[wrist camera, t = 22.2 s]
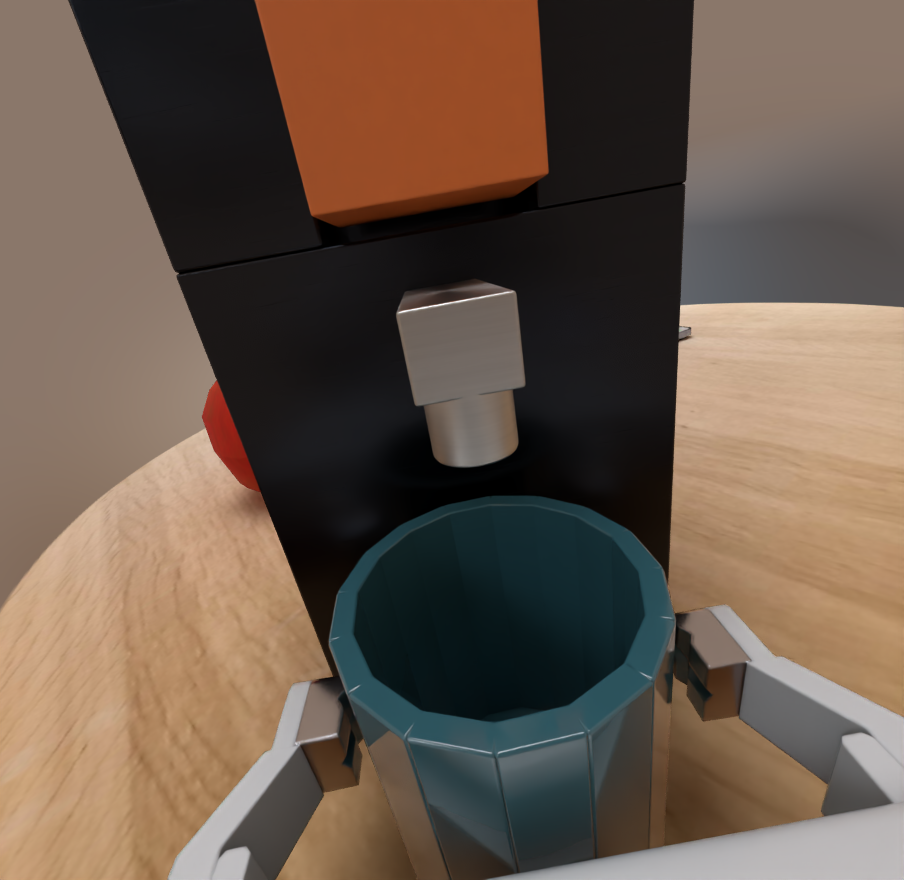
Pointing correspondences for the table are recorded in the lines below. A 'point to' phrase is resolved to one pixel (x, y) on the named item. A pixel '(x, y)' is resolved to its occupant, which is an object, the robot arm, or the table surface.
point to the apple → (227, 438)
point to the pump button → (408, 102)
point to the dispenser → (423, 284)
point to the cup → (512, 684)
